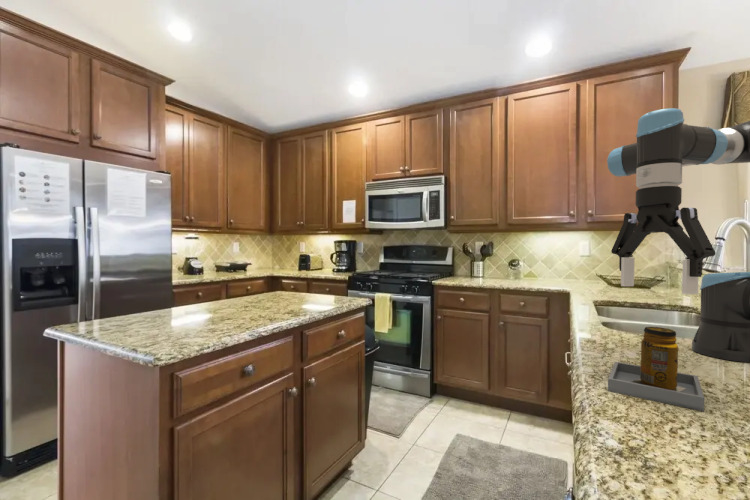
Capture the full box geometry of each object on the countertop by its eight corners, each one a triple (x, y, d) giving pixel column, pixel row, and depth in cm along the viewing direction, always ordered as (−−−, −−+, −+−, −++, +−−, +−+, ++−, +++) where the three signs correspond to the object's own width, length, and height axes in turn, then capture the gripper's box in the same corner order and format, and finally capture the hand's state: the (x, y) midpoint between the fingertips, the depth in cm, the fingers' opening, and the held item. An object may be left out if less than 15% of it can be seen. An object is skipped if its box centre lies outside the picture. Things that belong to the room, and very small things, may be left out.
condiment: (685, 389, 74) (687, 330, 74) (667, 397, 70) (669, 335, 70) (644, 377, 81) (645, 323, 80) (625, 384, 76) (627, 327, 76)
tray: (614, 372, 86) (615, 361, 86) (697, 387, 77) (697, 375, 77) (607, 390, 74) (608, 378, 74) (703, 411, 65) (704, 397, 65)
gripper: (595, 194, 87) (593, 283, 87) (709, 175, 62) (706, 298, 63) (621, 196, 88) (620, 283, 88) (743, 177, 64) (740, 298, 64)
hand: (655, 289), depth 76 cm, fingers open, 13 cm apart
